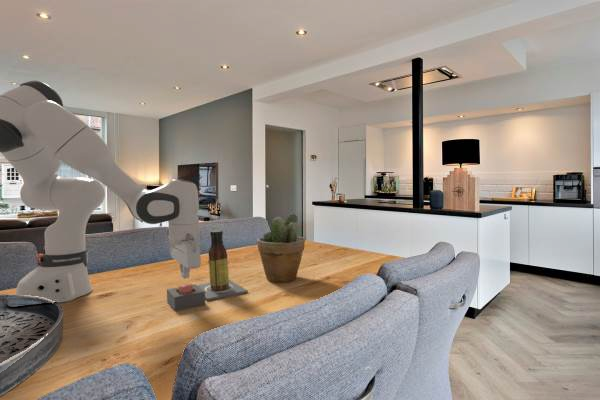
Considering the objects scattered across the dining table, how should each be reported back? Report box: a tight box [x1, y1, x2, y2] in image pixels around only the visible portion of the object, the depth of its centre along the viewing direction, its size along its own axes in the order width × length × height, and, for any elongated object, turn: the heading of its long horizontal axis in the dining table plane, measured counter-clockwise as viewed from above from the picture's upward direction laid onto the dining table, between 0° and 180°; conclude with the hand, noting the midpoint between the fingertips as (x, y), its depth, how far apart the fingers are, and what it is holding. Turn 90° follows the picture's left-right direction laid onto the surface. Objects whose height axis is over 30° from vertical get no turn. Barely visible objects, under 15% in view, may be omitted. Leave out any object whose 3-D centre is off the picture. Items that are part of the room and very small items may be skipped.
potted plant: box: [256, 212, 306, 284], centre depth 130 cm, size 18×19×25 cm
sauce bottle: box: [208, 229, 230, 291], centre depth 116 cm, size 7×6×20 cm
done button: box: [178, 283, 194, 294], centre depth 104 cm, size 4×4×3 cm
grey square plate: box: [196, 279, 249, 302], centre depth 117 cm, size 14×16×1 cm
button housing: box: [166, 284, 206, 311], centre depth 104 cm, size 9×9×4 cm
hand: (185, 277), depth 104 cm, fingers closed
